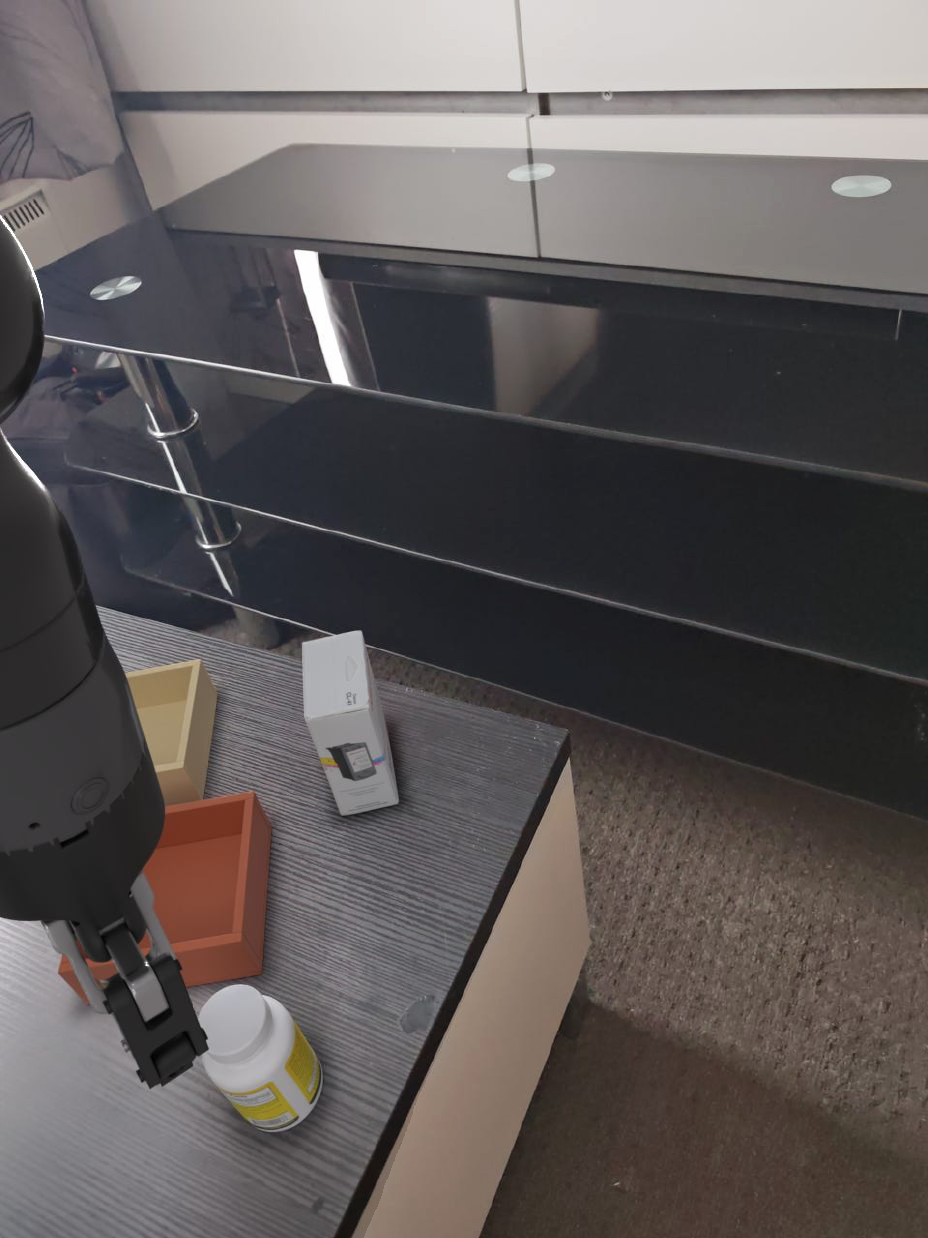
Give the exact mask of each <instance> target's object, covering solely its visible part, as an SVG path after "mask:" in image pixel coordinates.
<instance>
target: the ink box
mask: <svg viewBox="0 0 928 1238" xmlns="http://www.w3.org/2000/svg"><path fill="white" fill-rule="evenodd" d="M365 641H366V640H365V638H364V633H363V631H362V630H353V631H348V632H343V633H339V634H334V635H331V636H326V637H321V638H320V637H319V638H315V639H309V640H306V641H303V642H302V643H301V659H302V660H301V661H302V663H301V664H302V695H303V717H304V721H305V723H306V727H307V729H308V731H309V734H310V736H311V740H312V742H313V745H314V748H315V750H316V753H317V755H318V758H319V761H320V763H321V766H322V768H323V770H324V774H325V776H326V779H327V782H328V784H329V788H330V790H331V792H332V796H333V798H334V800H335V803H336V806H337V809H338V811H339V814H340V816H341V817H342V816H351V815H356V814H360V813H364V812H369V811H373V810H377V809H383V808H387V807H390V806H395V805H398V804H399V803H400V798H399V791H398V786H397V785H398V783H397V780H396V779H397V778H396V772H395V766H394V760H393V755H392V749H391V742H390V735H389V730H388V724H387V720H386V715H385V712H384V708H383V705H382V701H381V697H380V694H379V690H378V687H377V686H378V685H377V682H376V679H375V675H374V671H373V667H372V664H371V661H370V657H369V652H368V648H367V644H366V642H365Z"/></svg>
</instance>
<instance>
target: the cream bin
mask: <svg viewBox="0 0 928 1238" xmlns="http://www.w3.org/2000/svg"><path fill="white" fill-rule="evenodd" d="M125 674H126V677H127V680H128V683H129V686H130V689H131V692H132V696H133V699H134V702H135V705H136V709H137V712H138V715H139V719H140V722H141V725H142V729H143V732H144V735H145V738H146V742H147V745H148V748H149V751H150V755H151V758H152V761H153V765H154V768H155V771H156V774H157V778H158V781H159V784H160V788H161V791H162V794H163V798H164V803H165V807H167V806H173V805H178V804H184V803H190V802H195V801H201V800H204V797H205V790H206V781H207V775H208V768H209V760H210V754H211V752H210V751H211V745H212V738H213V732H214V726H215V725H214V724H215V717H216V712H217V711H216V710H217V704H218V703H217V702H218V696H219V693H218V691H217V689H216V687H215V684H214V683H213V680H212V679H211V677H210V675H209V673H208V671H207V668H206V667H205V665H204V662H203V660H202V659H201V658H200V659H193V660H189V661H182V662H177V663H173V664H172V663H171V664H167V665H161V666H156V667H150V668H144V669H140V670H139V669H138V670H133V671H129V672H125Z"/></svg>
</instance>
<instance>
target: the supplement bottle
mask: <svg viewBox="0 0 928 1238" xmlns="http://www.w3.org/2000/svg"><path fill="white" fill-rule="evenodd" d="M197 1018H198V1021H199V1023H200V1026H201V1028H203V1029H204V1031H205V1033H206V1035H207V1037H208V1039H207V1040H206V1042H207V1045H208V1047H209V1050H208V1051H206V1052H205V1053H203V1054H202V1055H201V1060H202V1065H203V1068H204V1071H205V1072H206V1075H207V1076H208V1078H209V1079H210V1081H212V1083H213V1084H214V1085H215V1086H216V1087H217V1088H218V1090H219V1091H220V1092H221V1093H222V1094H223V1096H224V1097H225V1098H226V1099H227V1100H228V1101H229V1103H230V1104H231V1105H232V1106H233V1107H234V1108H235V1109H236V1110H237V1112H238V1113H239V1114H240V1115H241V1116H242V1118H244V1119H245V1120H246V1121H247V1123H249V1124H250V1125H251V1126H253V1127H254V1128H256V1129H257V1130H260V1131H263V1132H269V1133H277V1132H283V1131H286V1130H289V1129H291V1128H293V1127H296V1125H298V1124H300V1123H301V1122H302V1121H303V1120H305V1119H306V1118H307V1117H308V1115H309V1114H311V1112H312V1111H313V1110H314V1108H315V1106H316V1104H317V1102H318V1100H319V1098H320V1095H321V1093H322V1088H323V1082H324V1076H323V1075H324V1074H323V1067H322V1065H321V1061H320V1059H319V1057H318V1055H317V1053H316V1052H315V1050H314V1049H313V1047H312V1046H311V1044H310V1043H309V1042H308V1040H307V1038H306V1037H305V1035H304V1034H303V1031H301V1029H300V1027H299V1026H298V1025H297V1022H296V1021H295V1020H294V1018H293V1016H292V1015H291V1014H290V1012H289V1011H288V1010H287V1008H286V1007H285V1006H284V1005H283V1004H282V1003H281V1002H279V1001H278V1000H276V999H275V998H273V997H271V996H268V995H263V994H262V993H260V991H259V990H257V989H256V988H255V987H253V986H251V985H247V984H233V985H232V984H231V985H228V986H226V987H224V988H221V989H220V990H218V991H217V992H215V993H214V994H212V996H210V997H209V999H207V1001H206V1002H205V1004H204V1005H203V1006H202V1008H201V1010H200V1011H199V1013H198V1016H197Z"/></svg>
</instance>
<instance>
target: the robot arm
mask: <svg viewBox="0 0 928 1238" xmlns="http://www.w3.org/2000/svg"><path fill="white" fill-rule="evenodd" d="M45 318H46V317H45V309H44V303H43V297H42V293H41V289H40V286H39V283H38V280H37V277H36V274H35V272H34V270H33V266H32V264H31V262H30V260H29V258H28V256H27V254H26V253H25V250H24V249H23V247H22V245H21V243H20V242H19V240H18V238H17V237H16V235H15V234H14V233H13V230H12V229H11V228H10V227H9V225H8V224H7V223H6V221H5V220H4V219H3V218H2V216H1V215H0V426H1V425H2V424H3V423H4V422H6V420H8V418H10V416H11V415H12V414H14V412H16V410H17V409H18V407H19V406H21V404H22V403H23V401H24V400H25V398H26V397H27V395H28V393H29V392H30V390H31V388H32V386H33V384H34V382H35V379H36V378H37V375H38V372H39V370H40V369H39V368H40V365H41V362H42V357H43V354H44V353H43V351H44V348H45V339H46V338H45V335H46V334H45V333H46V319H45ZM125 673H126V672H125V670H124V667H123V665H122V663H121V661H120V659H119V657H118V655H117V653H116V651H115V649H114V648H113V646H112V644H111V642H110V640H109V638H108V636H107V633H106V630H105V628H104V626H103V624H102V621H101V617H100V614H99V611H98V609H97V605H96V602H95V598H94V595H93V593H92V589H91V585H90V583H89V579H88V577H87V573H86V570H85V567H84V563H83V559H82V555H81V552H80V550H79V547H78V544H77V541H76V539H75V535H74V533H73V530H72V528H71V526H70V523H69V522H68V520H67V517H66V515H65V514H64V511H62V508H61V507H60V505H59V503H58V501H57V500H56V498H55V496H54V495H53V494H52V493H51V490H49V488H48V487H47V486H46V485H45V483H43V481H42V480H41V479H40V478H39V477H38V476H37V474H35V472H34V471H33V470H32V469H31V468H30V467H29V466H28V465H27V463H26V462H25V461H24V460H23V459H22V458H21V456H20V455H19V454H18V452H16V450H15V449H14V447H13V445H12V444H11V443H10V441H9V440H8V439H7V436H6V435H5V433H4V431H3V429H2V428H1V427H0V919H4V920H10V921H16V922H17V921H19V922H41V925H42V927H43V929H44V931H45V933H46V935H47V937H48V939H49V941H50V943H51V945H52V947H53V949H54V950H55V952H56V953H57V954H59V955H61V956H62V955H65V956H66V957H67V958H68V960H69V962H70V964H71V966H72V968H73V970H74V972H75V974H76V976H77V978H78V980H79V982H80V984H81V986H82V988H83V990H84V992H85V994H86V996H87V998H88V1000H89V1002H90V1004H89V1005H90V1006H91V1009H92V1010H93V1012H95V1013H97V1014H100V1015H106V1014H108V1016H112V1018H113V1020H114V1022H115V1024H116V1026H117V1028H118V1030H119V1033H120V1034H121V1036H122V1038H123V1039H121V1040H120V1044H121V1046H122V1047H123V1050H124V1052H125V1053H128V1052H130V1055H131V1056H132V1058H133V1059H134V1061H135V1064H136V1065H137V1067H138V1069H136V1070H135V1073H136V1075H137V1077H138V1079H139V1081H140V1083H141V1084H143V1083H144V1082H145V1083H146V1085H147V1087H148V1088H149V1090H151V1089H153V1088H154V1087H156V1086H158V1085H160V1086H161V1088H163V1087H165V1086H166V1085H168V1084H169V1083H170V1082H172V1081H174V1080H175V1079H176V1078H178V1077H179V1076H181V1075H183V1074H184V1073H186V1072H187V1071H188V1070H190V1069H191V1068H192V1067H194V1063H193V1062H194V1060H195V1059H196V1058H199V1057H201V1056H202V1054H203V1053H205V1052H206V1051H208V1050H209V1047H208V1045H207V1042H206V1040H207V1039H208V1037H207V1035H206V1033H205V1031H204V1029H203V1028H201V1026H200V1023H199V1021H198V1015H197V1012H196V1010H195V1007H194V1005H193V1002H192V999H191V997H190V994H189V991H188V989H187V988H188V987H186V986H185V983H184V980H183V978H182V975H181V973H180V971H181V970H183V969H182V966H181V964H180V962H179V960H178V959H177V957H176V955H175V953H174V951H173V949H172V947H171V945H170V943H169V941H168V938H167V936H166V934H165V932H164V930H163V928H162V926H161V924H160V922H159V920H158V917H157V915H156V913H155V911H154V909H153V903H154V899H155V897H154V893H153V891H152V889H151V887H150V885H149V882H148V880H147V878H146V876H145V874H144V872H143V870H142V869H143V868H144V866H145V865H146V863H147V862H148V860H149V859H150V857H151V856H152V854H153V853H154V851H155V849H156V847H157V845H158V843H159V841H160V838H161V835H162V832H163V828H164V822H165V803H164V798H163V794H162V791H161V788H160V784H159V781H158V778H157V774H156V771H155V768H154V765H153V761H152V758H151V755H150V751H149V748H148V745H147V742H146V738H145V735H144V732H143V729H142V725H141V722H140V719H139V715H138V712H137V709H136V705H135V702H134V699H133V696H132V692H131V689H130V686H129V683H128V680H127V677H126V674H125ZM145 932H146V933H147V935H148V937H149V939H150V941H151V948H150V951H149V953H148V954H147V955H146V956H145V957H144V955H143V953H142V951H141V950H140V948H139V946H138V944H139V943H140V942H141V941H142V939H143V938H144V935H145ZM76 941H78V942H79V944H80V946H81V948H82V949H83V951H84V953H85V955H86V956H87V958H88V959H89V960H91V961H93V962H96V963H105V962H108V961H111V959H112V960H113V962H114V964H115V966H116V968H117V970H118V973H117V974H115V975H113V976H111V977H110V978H108V979H105V980H99V979H96V978H95V977H93V974H92V972H91V970H90V968H89V966H88V964H87V962H86V960H85V958H84V956H83V954H82V952H81V950H80V948H79V946H78V944H77V942H76Z"/></svg>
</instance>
